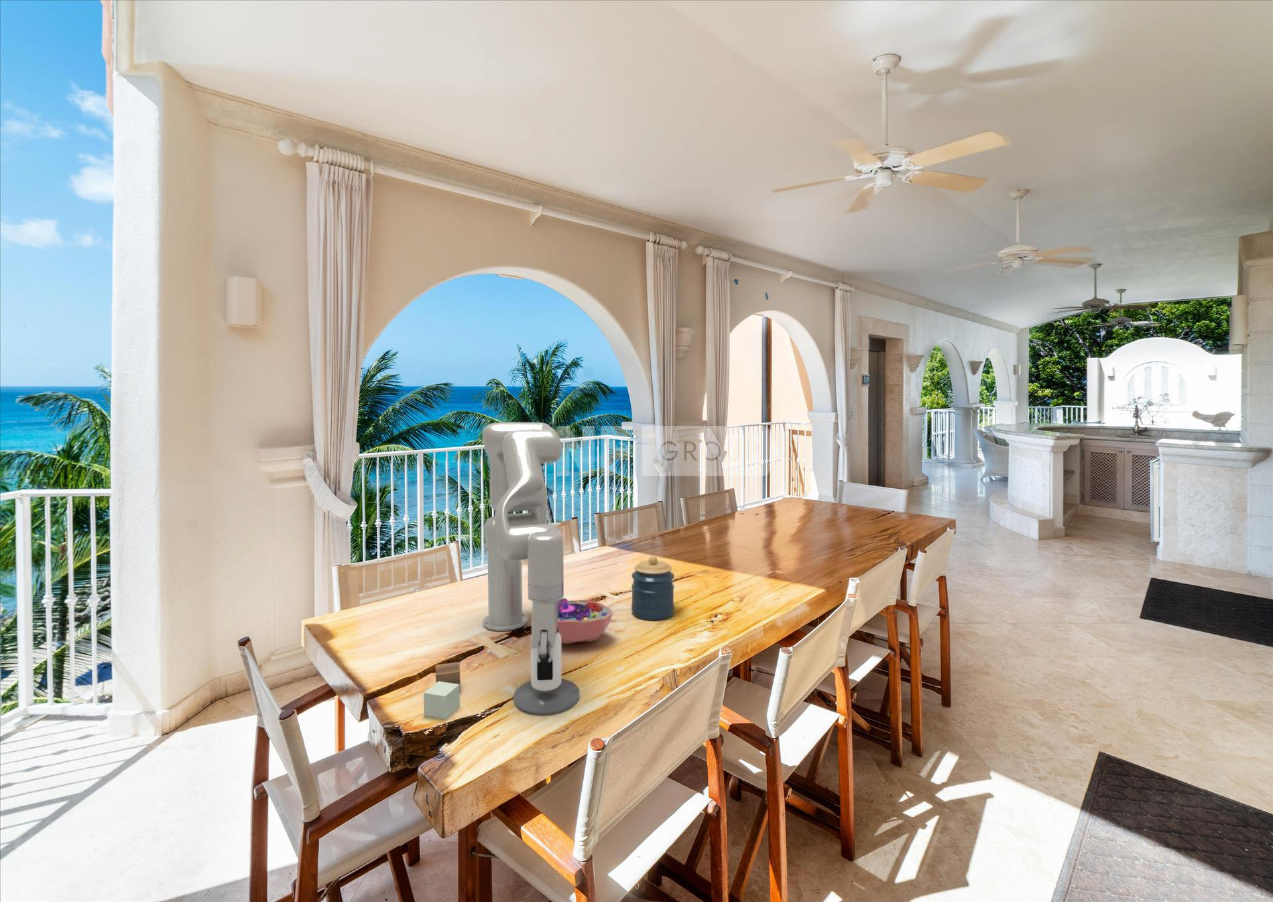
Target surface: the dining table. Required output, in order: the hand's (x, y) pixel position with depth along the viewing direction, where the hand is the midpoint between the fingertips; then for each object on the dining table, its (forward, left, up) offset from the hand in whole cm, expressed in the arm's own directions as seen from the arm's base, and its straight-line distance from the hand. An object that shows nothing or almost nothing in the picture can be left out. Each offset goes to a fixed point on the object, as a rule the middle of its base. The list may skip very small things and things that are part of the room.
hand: (546, 670), depth 122 cm
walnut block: (-5, -22, -6) cm, 23 cm away
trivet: (0, 0, -6) cm, 6 cm away
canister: (-48, +28, -6) cm, 56 cm away
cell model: (-29, +6, -6) cm, 30 cm away
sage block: (+4, -21, -6) cm, 22 cm away
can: (0, 0, -3) cm, 3 cm away
